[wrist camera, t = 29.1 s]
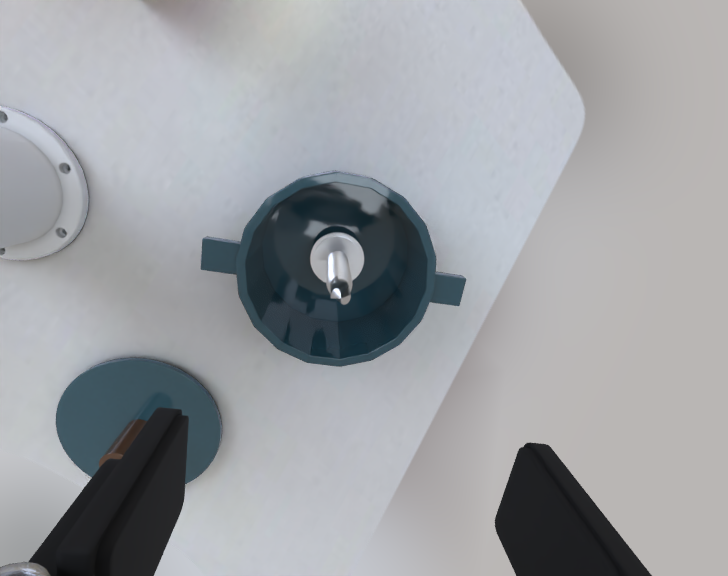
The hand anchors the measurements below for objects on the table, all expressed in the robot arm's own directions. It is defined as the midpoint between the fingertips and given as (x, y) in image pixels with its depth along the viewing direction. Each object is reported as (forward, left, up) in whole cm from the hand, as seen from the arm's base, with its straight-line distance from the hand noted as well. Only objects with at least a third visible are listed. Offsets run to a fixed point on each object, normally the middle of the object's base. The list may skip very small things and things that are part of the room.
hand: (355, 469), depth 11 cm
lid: (-2, -27, -28) cm, 39 cm away
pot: (0, 0, -28) cm, 28 cm away
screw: (0, 0, -28) cm, 28 cm away
